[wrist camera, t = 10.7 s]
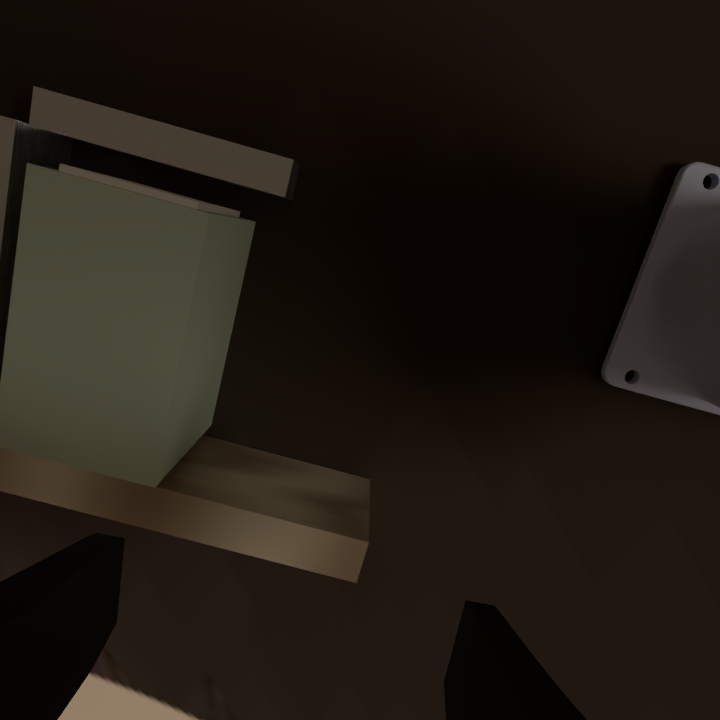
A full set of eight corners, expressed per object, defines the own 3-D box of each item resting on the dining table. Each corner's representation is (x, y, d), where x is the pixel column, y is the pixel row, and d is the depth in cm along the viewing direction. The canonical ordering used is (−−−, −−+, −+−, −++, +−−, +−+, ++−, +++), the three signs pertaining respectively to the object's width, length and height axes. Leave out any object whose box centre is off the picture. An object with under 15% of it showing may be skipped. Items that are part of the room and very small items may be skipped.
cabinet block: (257, 216, 19) (210, 205, 14) (211, 424, 21) (154, 488, 15) (127, 179, 19) (27, 154, 13) (92, 392, 21) (-8, 445, 15)
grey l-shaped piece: (300, 166, 18) (285, 151, 15) (235, 443, 21) (212, 476, 18) (61, 98, 18) (0, 70, 15) (23, 387, 20) (-37, 411, 17)
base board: (370, 479, 21) (368, 542, 16) (360, 512, 21) (356, 582, 17) (23, 387, 20) (-74, 426, 16) (18, 422, 21) (-78, 470, 16)
